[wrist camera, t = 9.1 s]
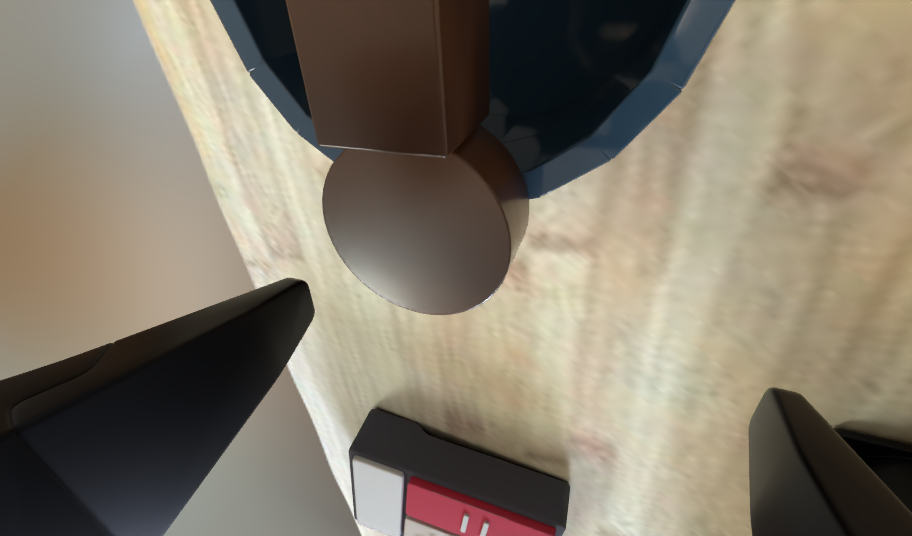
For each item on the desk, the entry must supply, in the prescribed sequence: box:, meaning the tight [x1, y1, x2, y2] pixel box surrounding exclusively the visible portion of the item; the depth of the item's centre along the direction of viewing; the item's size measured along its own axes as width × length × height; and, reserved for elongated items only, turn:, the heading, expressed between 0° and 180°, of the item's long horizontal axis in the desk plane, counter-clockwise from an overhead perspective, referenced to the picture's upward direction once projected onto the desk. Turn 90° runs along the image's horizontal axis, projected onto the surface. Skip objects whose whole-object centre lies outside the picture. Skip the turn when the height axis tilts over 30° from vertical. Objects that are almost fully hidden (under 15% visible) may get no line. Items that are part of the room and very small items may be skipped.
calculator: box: [349, 409, 570, 536], centre depth 34 cm, size 11×4×15 cm
